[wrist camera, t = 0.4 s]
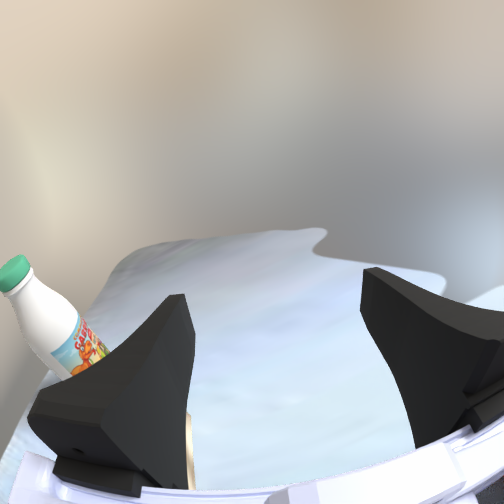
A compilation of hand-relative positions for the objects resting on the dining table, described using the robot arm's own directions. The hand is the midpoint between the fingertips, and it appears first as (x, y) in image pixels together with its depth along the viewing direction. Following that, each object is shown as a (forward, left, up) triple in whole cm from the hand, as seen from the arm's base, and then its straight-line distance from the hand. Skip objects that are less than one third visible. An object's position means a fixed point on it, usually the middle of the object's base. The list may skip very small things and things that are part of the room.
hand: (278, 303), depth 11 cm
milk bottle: (+8, +26, -19) cm, 34 cm away
